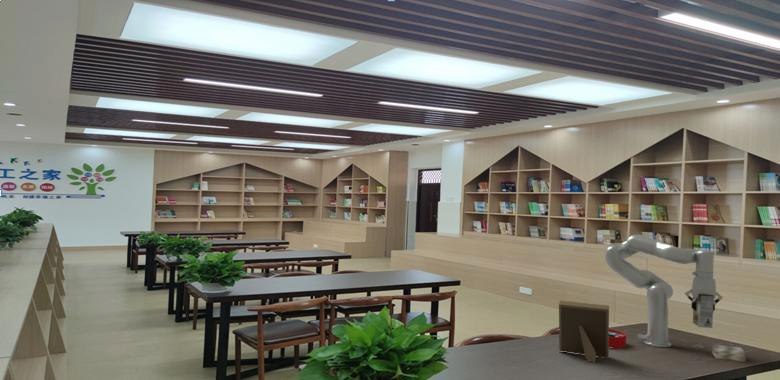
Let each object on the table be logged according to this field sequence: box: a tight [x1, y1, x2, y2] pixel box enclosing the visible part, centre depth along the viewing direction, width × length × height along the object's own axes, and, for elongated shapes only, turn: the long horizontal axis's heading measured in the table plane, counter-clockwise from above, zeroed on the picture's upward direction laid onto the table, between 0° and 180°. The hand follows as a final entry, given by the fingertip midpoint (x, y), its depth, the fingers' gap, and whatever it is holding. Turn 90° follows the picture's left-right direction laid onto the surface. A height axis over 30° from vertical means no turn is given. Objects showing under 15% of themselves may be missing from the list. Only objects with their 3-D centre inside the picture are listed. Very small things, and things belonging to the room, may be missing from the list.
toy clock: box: [609, 328, 627, 349], centre depth 274 cm, size 20×6×20 cm
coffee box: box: [692, 294, 715, 329], centre depth 261 cm, size 9×6×16 cm
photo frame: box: [558, 300, 610, 363], centre depth 246 cm, size 15×22×25 cm
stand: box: [711, 344, 747, 363], centre depth 254 cm, size 12×11×4 cm
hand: (703, 310), depth 261 cm, fingers closed on coffee box, 7 cm apart
